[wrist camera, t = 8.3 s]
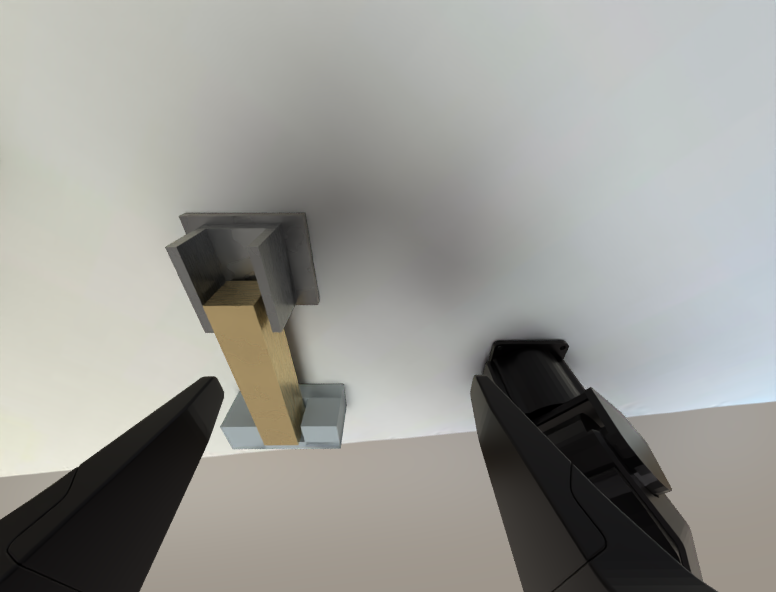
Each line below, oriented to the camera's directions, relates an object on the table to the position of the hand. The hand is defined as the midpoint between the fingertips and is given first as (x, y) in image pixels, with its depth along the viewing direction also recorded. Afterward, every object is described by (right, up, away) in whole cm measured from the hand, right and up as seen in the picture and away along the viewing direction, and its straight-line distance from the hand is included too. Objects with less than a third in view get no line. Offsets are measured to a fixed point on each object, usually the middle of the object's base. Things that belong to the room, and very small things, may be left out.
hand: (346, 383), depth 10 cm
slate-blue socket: (-8, -7, +19) cm, 22 cm away
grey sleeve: (-8, +6, +11) cm, 14 cm away
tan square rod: (-8, -2, +13) cm, 16 cm away
